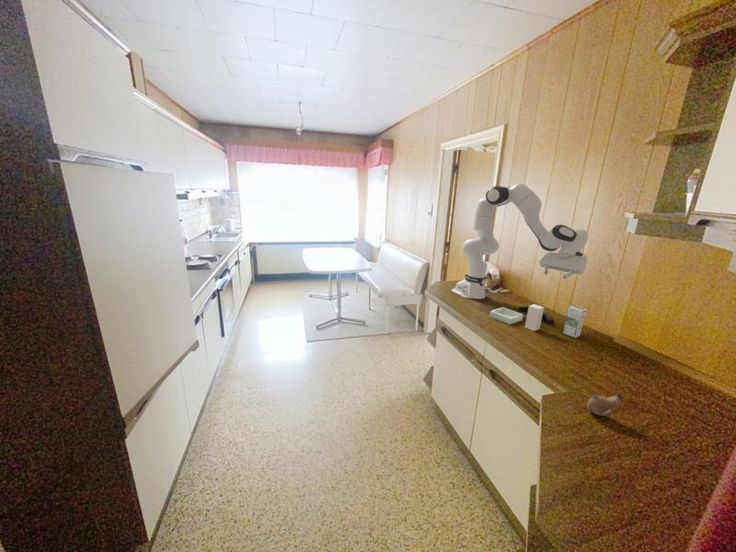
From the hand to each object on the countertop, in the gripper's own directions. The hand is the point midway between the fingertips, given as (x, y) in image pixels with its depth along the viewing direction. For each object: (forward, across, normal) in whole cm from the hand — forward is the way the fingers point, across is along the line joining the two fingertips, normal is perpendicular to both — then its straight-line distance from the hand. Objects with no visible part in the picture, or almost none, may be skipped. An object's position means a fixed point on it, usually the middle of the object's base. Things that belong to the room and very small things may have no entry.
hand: (554, 275), depth 146 cm
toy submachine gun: (+17, -9, +22) cm, 29 cm away
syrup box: (+21, +14, +17) cm, 30 cm away
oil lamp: (+58, +44, -20) cm, 76 cm away
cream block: (+28, 0, +10) cm, 29 cm away
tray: (+28, -14, +9) cm, 33 cm away
